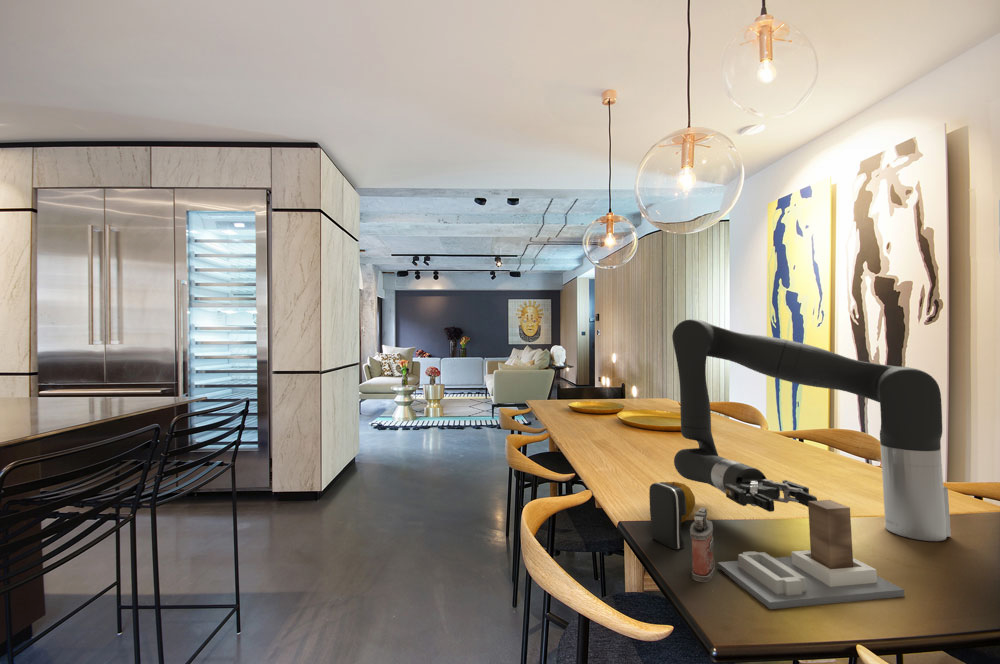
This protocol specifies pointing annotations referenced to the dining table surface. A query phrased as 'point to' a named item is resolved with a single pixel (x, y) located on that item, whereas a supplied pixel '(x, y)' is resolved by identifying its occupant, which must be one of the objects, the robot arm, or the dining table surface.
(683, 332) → the robot arm
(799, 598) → the holder board
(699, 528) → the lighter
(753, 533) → the dining table surface
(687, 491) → the apple
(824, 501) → the tall brown wooden block
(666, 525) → the battery charger
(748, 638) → the dining table surface
